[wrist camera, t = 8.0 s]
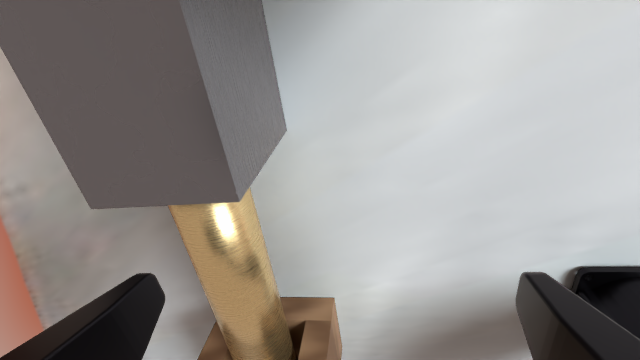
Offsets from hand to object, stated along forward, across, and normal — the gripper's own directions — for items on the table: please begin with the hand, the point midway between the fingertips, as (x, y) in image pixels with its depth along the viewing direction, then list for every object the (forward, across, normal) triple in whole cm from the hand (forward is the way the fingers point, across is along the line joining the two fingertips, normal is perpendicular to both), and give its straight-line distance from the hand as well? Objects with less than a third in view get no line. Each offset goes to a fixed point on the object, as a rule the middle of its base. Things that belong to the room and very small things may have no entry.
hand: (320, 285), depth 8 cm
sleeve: (+12, +7, -5) cm, 15 cm away
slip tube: (+10, +7, +7) cm, 14 cm away
